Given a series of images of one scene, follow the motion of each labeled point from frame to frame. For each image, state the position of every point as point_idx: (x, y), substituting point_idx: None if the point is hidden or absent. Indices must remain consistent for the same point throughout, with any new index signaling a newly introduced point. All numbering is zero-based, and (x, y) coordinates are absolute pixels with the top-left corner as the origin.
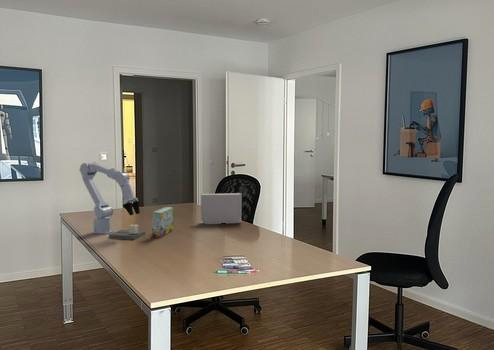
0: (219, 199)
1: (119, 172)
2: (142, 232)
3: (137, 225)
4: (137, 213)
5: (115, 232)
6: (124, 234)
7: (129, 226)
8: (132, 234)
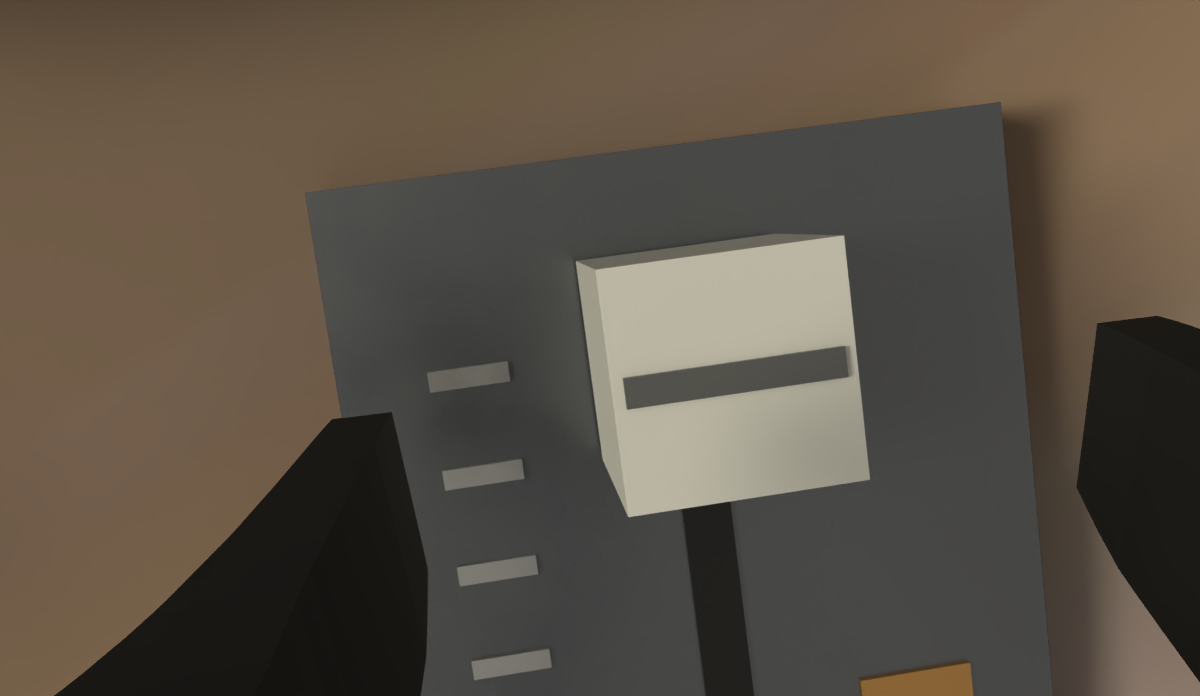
0: None
1: None
2: (475, 188)
3: (675, 257)
4: (413, 517)
5: None
6: (902, 495)
7: (858, 457)
8: None
